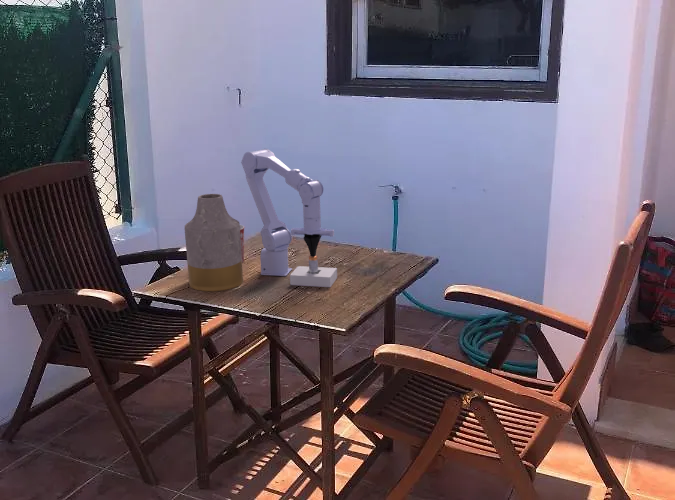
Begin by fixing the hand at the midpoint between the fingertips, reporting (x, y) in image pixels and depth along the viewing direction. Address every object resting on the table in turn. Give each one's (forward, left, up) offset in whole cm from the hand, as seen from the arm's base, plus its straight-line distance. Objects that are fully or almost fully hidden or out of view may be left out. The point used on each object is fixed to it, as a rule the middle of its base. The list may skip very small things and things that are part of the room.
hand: (313, 255), depth 247 cm
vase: (-33, -7, -9) cm, 35 cm away
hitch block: (0, 0, -9) cm, 9 cm away
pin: (0, 0, -9) cm, 9 cm away
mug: (-37, +17, -9) cm, 42 cm away
